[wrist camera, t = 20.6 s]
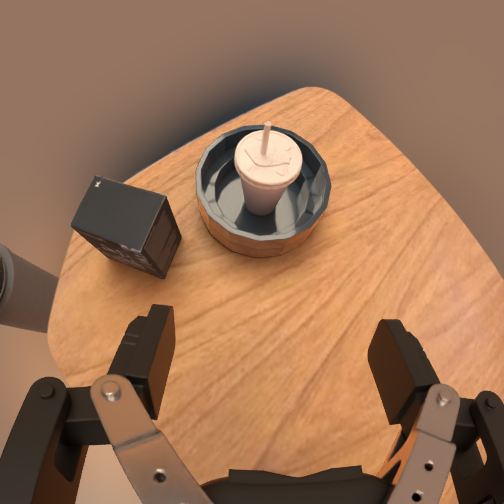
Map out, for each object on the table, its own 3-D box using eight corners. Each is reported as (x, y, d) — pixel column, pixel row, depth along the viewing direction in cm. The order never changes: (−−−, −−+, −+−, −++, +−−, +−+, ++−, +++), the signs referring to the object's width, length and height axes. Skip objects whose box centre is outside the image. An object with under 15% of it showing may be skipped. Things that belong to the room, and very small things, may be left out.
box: (107, 259, 35) (67, 225, 25) (126, 216, 37) (95, 172, 27) (165, 281, 35) (140, 252, 25) (183, 236, 37) (167, 193, 27)
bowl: (204, 263, 36) (198, 246, 30) (198, 158, 40) (194, 129, 34) (326, 252, 37) (342, 234, 31) (305, 152, 41) (315, 124, 36)
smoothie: (242, 173, 39) (247, 91, 26) (292, 186, 39) (318, 110, 25) (226, 218, 37) (224, 145, 24) (280, 233, 37) (305, 166, 23)
